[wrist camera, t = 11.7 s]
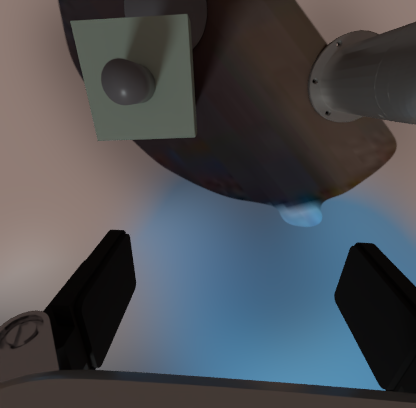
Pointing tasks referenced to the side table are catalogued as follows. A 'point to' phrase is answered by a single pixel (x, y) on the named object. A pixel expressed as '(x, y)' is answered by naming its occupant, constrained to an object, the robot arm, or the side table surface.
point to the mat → (171, 12)
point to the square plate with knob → (138, 76)
